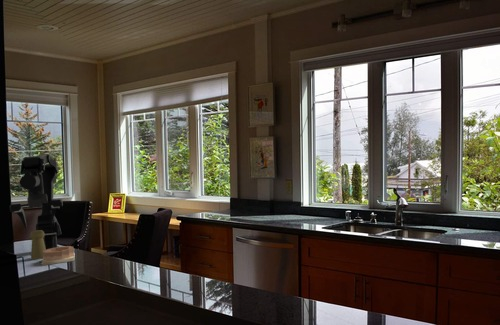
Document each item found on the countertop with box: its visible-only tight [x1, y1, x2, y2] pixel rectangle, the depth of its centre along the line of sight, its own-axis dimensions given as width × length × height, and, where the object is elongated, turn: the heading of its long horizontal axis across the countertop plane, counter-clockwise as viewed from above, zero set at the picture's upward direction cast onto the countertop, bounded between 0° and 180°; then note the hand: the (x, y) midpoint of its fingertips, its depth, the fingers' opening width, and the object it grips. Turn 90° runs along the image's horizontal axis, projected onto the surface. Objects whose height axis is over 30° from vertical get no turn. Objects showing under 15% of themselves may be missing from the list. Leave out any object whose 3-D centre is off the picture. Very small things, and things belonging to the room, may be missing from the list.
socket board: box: [41, 245, 76, 266], centre depth 164 cm, size 11×11×4 cm
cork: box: [29, 229, 46, 261], centre depth 172 cm, size 6×6×11 cm
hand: (38, 226), depth 171 cm, fingers open, 9 cm apart
